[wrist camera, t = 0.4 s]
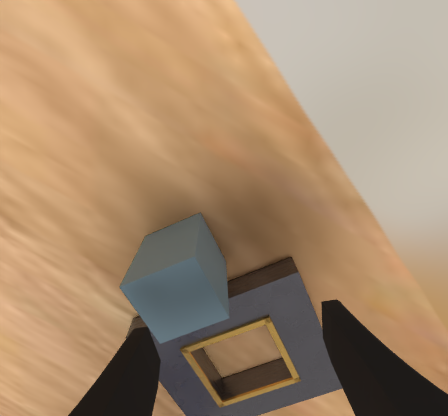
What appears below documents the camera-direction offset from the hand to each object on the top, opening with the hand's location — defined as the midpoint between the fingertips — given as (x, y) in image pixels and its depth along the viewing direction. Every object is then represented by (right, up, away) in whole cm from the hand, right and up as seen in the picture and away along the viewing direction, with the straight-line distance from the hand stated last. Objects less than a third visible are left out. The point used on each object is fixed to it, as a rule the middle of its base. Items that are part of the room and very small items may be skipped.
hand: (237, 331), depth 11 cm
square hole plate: (+1, -7, +13) cm, 15 cm away
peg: (-3, +2, +10) cm, 10 cm away
